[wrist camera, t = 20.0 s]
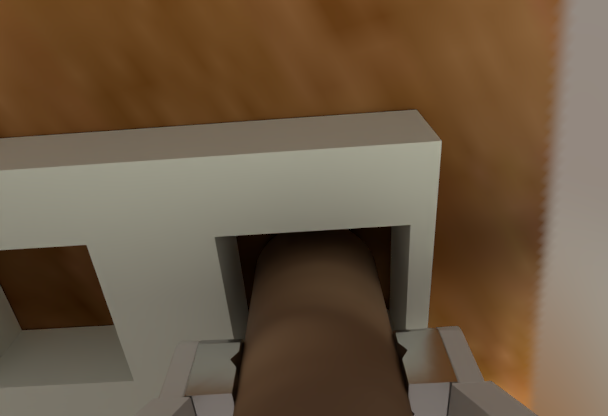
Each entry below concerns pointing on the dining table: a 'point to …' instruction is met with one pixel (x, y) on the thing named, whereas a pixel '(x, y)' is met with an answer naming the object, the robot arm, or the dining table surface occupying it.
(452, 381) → the robot arm
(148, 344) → the peg board
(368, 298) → the peg
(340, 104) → the dining table surface
